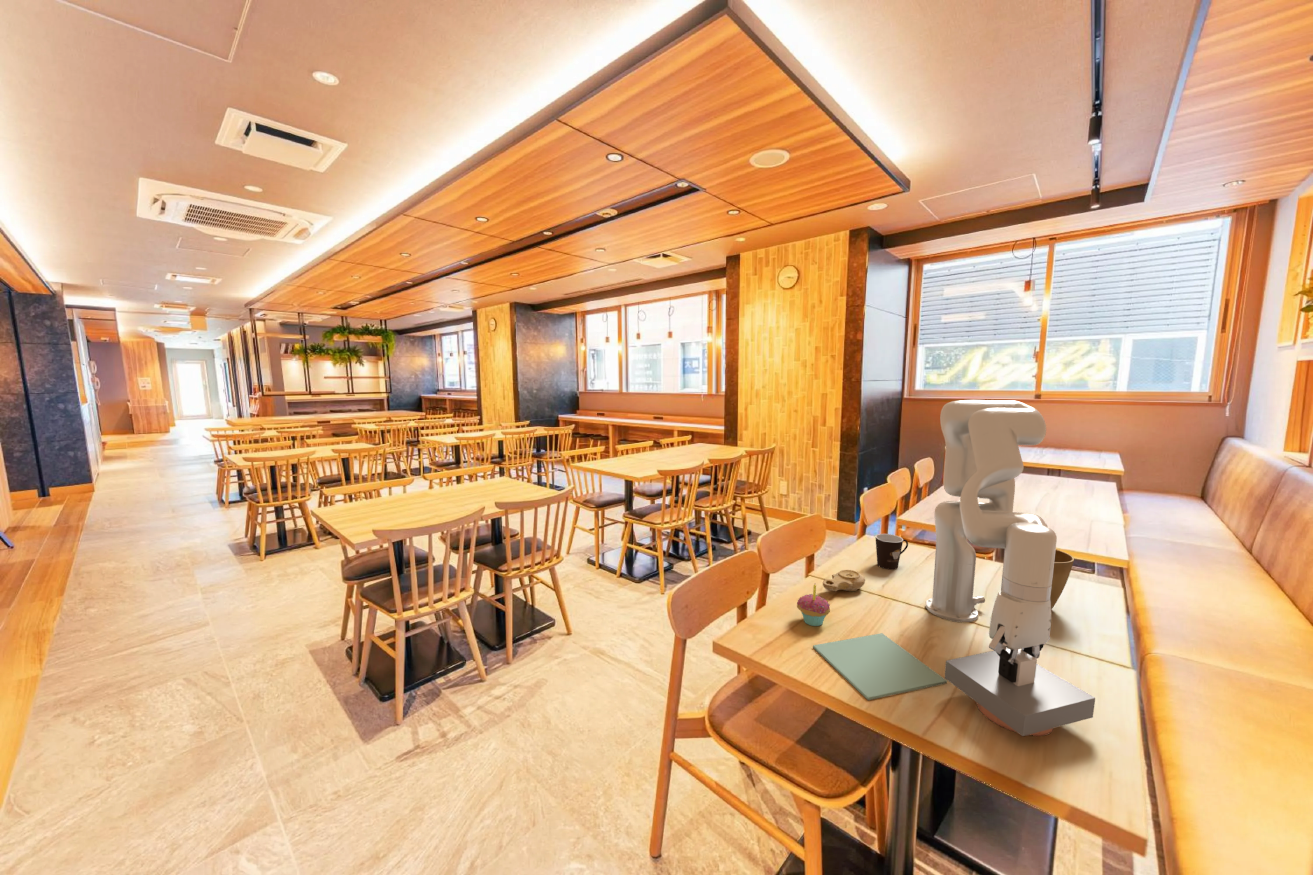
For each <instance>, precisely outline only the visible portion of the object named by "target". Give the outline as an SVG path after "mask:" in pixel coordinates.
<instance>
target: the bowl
mask: <svg viewBox="0 0 1313 875" xmlns="http://www.w3.org/2000/svg"><path fill="white" fill-rule="evenodd" d="M975 703H976V707H977V708H978V710H979V712H981V714H982V715H983V716H985V717H986V718H987V719H988V720H989V721H991V722H992V723H993V724H996V725H998V726H999V727H1001V728H1003V729H1004V730H1008V731H1010V732H1013V731H1014V733H1016V731H1015V730H1014V729H1012V728H1011V727H1010V726H1008V725H1007V724H1006V723H1004V722H1003V721H1002V720H1000V719H999V718H997V717H996V716H995V715H993V714H992V713H991V712H989V711H988V710H987V709H985V708H984V707H983V706H981V705H980V704H979V703H977V702H976V701H975ZM1053 730H1054V728H1052V729H1048V730H1044V731H1041V732H1037V733H1033V734H1030V735H1033V736H1032V737H1044V736H1047V735H1049V734H1051V733H1052V732H1053ZM1016 734H1019V733H1018V732H1017V733H1016Z"/></svg>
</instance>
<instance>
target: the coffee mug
mask: <svg viewBox="0 0 1313 875" xmlns="http://www.w3.org/2000/svg"><path fill="white" fill-rule="evenodd" d="M874 537H875V550H876V551H875V552H876V561H877V562H876V564H877V565H876V566H878V567H879V566H880V567H879V568H882V569H884V570H890V571H893V570H897V569H898V568H899V563H900V558H901V555H902V554H903V553H904V552H905V551H906V550H907V548H908V546H909V541H908V540H906V539H903V537H901V536H899V535H896V534H895V535H894V534H891V533H890V534H889V533H879V534H875V536H874ZM904 542H905V543H906V544H905V547H904V548H902V547H903V543H904ZM902 549H903V550H902Z"/></svg>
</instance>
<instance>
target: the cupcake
mask: <svg viewBox="0 0 1313 875" xmlns="http://www.w3.org/2000/svg"><path fill="white" fill-rule="evenodd" d="M812 590H813V591H812V593H809V594H805V595H802V596H801V597H799V598H798V599H797V603H796V609H798V610H799V611H800V612H801V615H802V617H803V618H802V619H803V622H804V623H805V624H806V625H809V626H813V627H819V626H822V625H823V624H824V621H825V618H826V617H827V616H828V615H829V613H831V606H830V605H831V604H830V602H829V601H828V600H827V599H825V598H824V597H822V596H820V595H817V593H816V591H817V585H816V584H814V585H813V588H812Z"/></svg>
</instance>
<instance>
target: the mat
mask: <svg viewBox="0 0 1313 875" xmlns="http://www.w3.org/2000/svg"><path fill="white" fill-rule="evenodd" d="M812 648H813V649H814V650H815V651H816V652H817V653H818V654H819V655H820V656H821V657H822V658H823V659H824V660H825V661H826V662H827V663H828V664H829V665H831V666H832V667H833V669H835V670H836V672H838V673H839V674H840V676H842V677H843V678H844V679H845V680H846V681H847V682H849V684H850V685H851V686H853V688H855V689H856V691H858V692H859V693H860V694H861V695H862V697H864V698H865V699H866V700H867V701H870V700H876V699H880V698H884V697H889V696H894V695H898V694H904V693H907V692H912V691H917V690H921V689H927V688H932V687H935V686H941V685H945V684H947V683H948V680H946V679H945V677H943V676H941V675H940V674H938V673H937V672H936V671H934V670H933V669H932V668H930V667H929V666H927V665H926V664H925V663H924V662H922V661H921V660H919V658H916V656H914V655H913V654H911V653H910V652H909V651H907V650H906V649H904V648H903V647H902V646H900V645H899V644H898V643H896V642H895V641H893V640H892V639H891V638H890V637H888V636H887V635H885V634H884V633H882V632H881V633H875V634H870V635H864V636H858V637H853V638H848V639H841V640H836V641H835V640H834V641H831V642H824V643H819V644H814V645H812Z"/></svg>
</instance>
